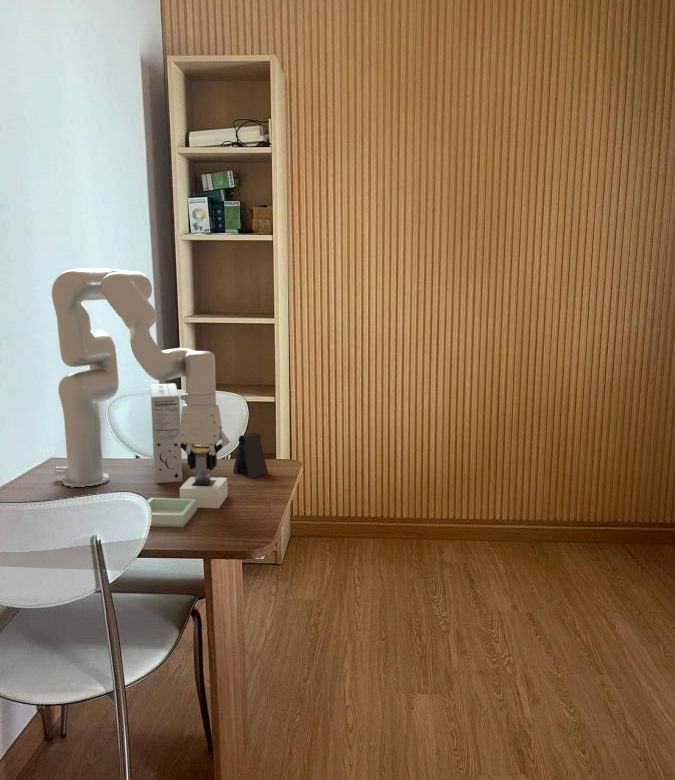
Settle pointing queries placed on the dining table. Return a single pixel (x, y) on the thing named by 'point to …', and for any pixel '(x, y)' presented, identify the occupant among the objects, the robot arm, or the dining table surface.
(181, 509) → the tray
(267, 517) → the dining table surface
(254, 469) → the black a-frame stand
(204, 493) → the block
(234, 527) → the dining table surface
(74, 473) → the robot arm
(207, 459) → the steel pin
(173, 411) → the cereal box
